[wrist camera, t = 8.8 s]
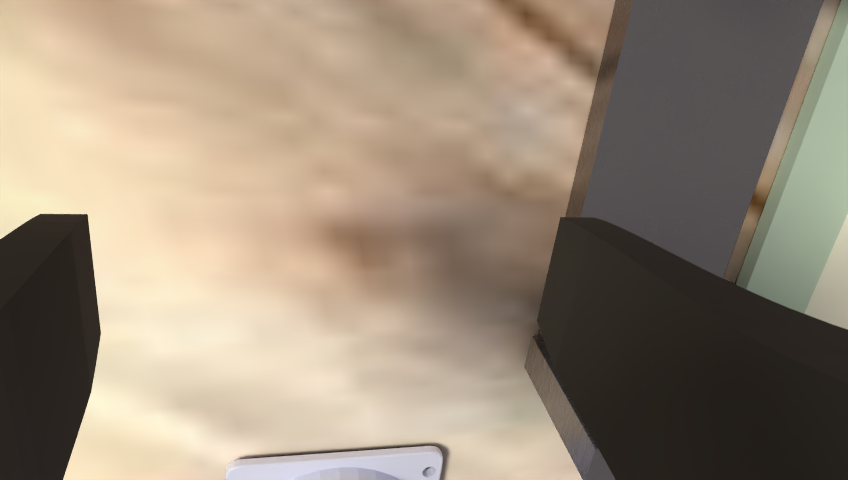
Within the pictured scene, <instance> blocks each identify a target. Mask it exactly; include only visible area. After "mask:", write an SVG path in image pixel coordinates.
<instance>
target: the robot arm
mask: <svg viewBox="0 0 848 480" xmlns="http://www.w3.org/2000/svg"><path fill="white" fill-rule="evenodd" d="M537 321H538V324H539V327H540V330H541V333H542V336H543V339H544V342H545V345H546V348H547V350H548V353H549V355H550V358H551V361H552V363H553V366H554V368H555V371H556V372H557V374H558V376H559V378H560V380H561V382H562V384H563V386H564V388H565V389H566V391H567V393H568V395H569V397H570V399H571V400H572V402H573V404H574V406H575V408H576V410H577V411H578V413H579V415H580V417H581V419H582V420H583V422H584V424H585V426H586V427H587V429H588V431H589V433H590V435H591V436H592V438H593V440H594V442H595V444H596V445H597V447H598V449H599V451H600V453H601V454H602V456H603V458H604V460H605V461H606V463H607V465H608V467H609V469H610V470H611V472H612V474H613V476H614V478H615V480H848V329H845V328H842V327H839V326H836V325H833V324H830V323H827V322H825V321H822V320H819V319H817V318H814V317H812V316H809V315H806V314H804V313H801V312H798V311H796V310H793V309H790V308H788V307H785V306H783V305H781V304H778V303H776V302H773V301H771V300H769V299H766V298H764V297H762V296H760V295H757V294H755V293H753V292H751V291H749V290H746V289H744V288H742V287H740V286H738V285H735V284H733V283H731V282H729V281H727V280H725V279H723V278H721V277H719V276H716V275H714V274H712V273H710V272H708V271H706V270H704V269H702V268H700V267H698V266H696V265H694V264H692V263H690V262H688V261H686V260H684V259H682V258H681V257H679V256H677V255H675V254H673V253H671V252H669V251H667V250H665V249H663V248H661V247H659V246H657V245H655V244H653V243H651V242H649V241H647V240H645V239H643V238H641V237H639V236H637V235H635V234H633V233H631V232H629V231H627V230H625V229H623V228H621V227H618V226H616V225H614V224H611V223H609V222H606V221H604V220H601V219H598V218H592V217H561V218H560V222H559V227H558V231H557V235H556V240H555V244H554V249H553V253H552V257H551V262H550V266H549V270H548V275H547V279H546V284H545V288H544V292H543V297H542V301H541V305H540V310H539V314H538V319H537ZM100 335H101V331H100V323H99V314H98V305H97V296H96V287H95V278H94V269H93V260H92V251H91V242H90V233H89V224H88V215H87V214H40V215H38V216H36V217H34V218H32V219H31V220H29V221H27V222H26V223H24V224H23V225H21V226H20V227H18V228H17V229H15V230H14V231H12V232H11V233H9V234H8V235H6V236H5V237H3V238H2V239H0V480H63V478H64V474H65V471H66V468H67V465H68V462H69V459H70V456H71V453H72V450H73V447H74V444H75V441H76V438H77V435H78V431H79V428H80V425H81V422H82V419H83V416H84V413H85V409H86V406H87V403H88V400H89V397H90V393H91V389H92V383H93V378H94V372H95V366H96V360H97V354H98V347H99V341H100ZM442 464H443V456H442V453H441V450H440V449H439V448H438V447H436V446H421V447H407V448H393V449H379V450H365V451H351V452H336V453H322V454H308V455H294V456H280V457H266V458H252V459H239V460H235V461H233V462H231V463H229V465H228V466H227V468H226V480H440V475H441V470H442ZM427 467H431V468H429V469H425V468H427Z"/></svg>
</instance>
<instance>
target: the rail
mask: <svg viewBox="0 0 848 480" xmlns="http://www.w3.org/2000/svg"><path fill="white" fill-rule="evenodd" d="M804 314H806V315H809V316H812V317H814V318H817V319H819V320H822V321H825V322H827V323H830V324H833V325H836V326H839V327H842V328H845V329H848V214H847V216H846V218H845V221H844V223H843V225H842V227H841V230H840V232H839V234H838V237H837V239H836V241H835V244H834V246H833V248H832V251H831V253H830V255H829V257H828V260H827V262H826V264H825V267H824V269H823V271H822V274H821V276H820V278H819V281H818V283H817V285H816V287H815V290H814V292H813V294H812V297H811V299H810V301H809V304H808V306H807V308H806V310H805V313H804Z"/></svg>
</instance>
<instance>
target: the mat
mask: <svg viewBox="0 0 848 480" xmlns="http://www.w3.org/2000/svg"><path fill="white" fill-rule="evenodd" d="M847 214H848V0H841V2H840V5H839V8H838V10H837V13H836V16H835V18H834V21H833V24H832V26H831V29H830V32H829V34H828V37H827V40H826V43H825V45H824V48H823V51H822V53H821V56H820V59H819V61H818V64H817V67H816V69H815V72H814V75H813V77H812V80H811V83H810V86H809V88H808V91H807V94H806V96H805V99H804V102H803V104H802V107H801V110H800V112H799V115H798V118H797V120H796V123H795V126H794V128H793V131H792V134H791V137H790V139H789V142H788V145H787V147H786V150H785V153H784V155H783V158H782V161H781V163H780V166H779V169H778V171H777V174H776V177H775V180H774V182H773V185H772V188H771V190H770V193H769V196H768V198H767V201H766V204H765V206H764V209H763V212H762V214H761V217H760V220H759V223H758V225H757V228H756V231H755V233H754V236H753V239H752V241H751V244H750V247H749V249H748V252H747V255H746V257H745V260H744V263H743V266H742V268H741V271H740V274H739V276H738V279H737V282H736V284H735V285H738V286H740V287H742V288H744V289H746V290H749V291H751V292H753V293H755V294H757V295H760V296H762V297H764V298H766V299H769V300H771V301H773V302H776V303H778V304H781V305H783V306H785V307H788V308H790V309H793V310H796V311H798V312H801V313H805V310H806V308H807V306H808V304H809V301H810V299H811V297H812V294H813V292H814V290H815V287H816V285H817V283H818V281H819V278H820V276H821V274H822V271H823V269H824V267H825V264H826V262H827V260H828V257H829V255H830V253H831V251H832V248H833V246H834V244H835V241H836V239H837V237H838V234H839V232H840V230H841V227H842V225H843V223H844V221H845V218H846V216H847Z"/></svg>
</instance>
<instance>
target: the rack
mask: <svg viewBox="0 0 848 480" xmlns="http://www.w3.org/2000/svg"><path fill="white" fill-rule="evenodd" d="M822 2H823V0H616V2H615V6H614V10H613V15H612V19H611V23H610V28H609V32H608V36H607V40H606V45H605V49H604V53H603V58H602V62H601V66H600V71H599V75H598V79H597V84H596V88H595V92H594V97H593V101H592V105H591V109H590V114H589V118H588V122H587V127H586V131H585V135H584V140H583V144H582V148H581V153H580V157H579V161H578V166H577V170H576V174H575V178H574V183H573V187H572V191H571V196H570V200H569V204H568V209H567V213H566V217H592V218H598V219H601V220H604V221H606V222H609V223H611V224H614V225H616V226H618V227H621V228H623V229H625V230H627V231H629V232H631V233H633V234H635V235H637V236H639V237H641V238H643V239H645V240H647V241H649V242H651V243H653V244H655V245H657V246H659V247H661V248H663V249H665V250H667V251H669V252H671V253H673V254H675V255H677V256H679V257H681V258H682V259H684V260H686V261H688V262H690V263H692V264H694V265H696V266H698V267H700V268H702V269H704V270H706V271H708V272H710V273H712V274H714V275H716V276H719V277H721V278H723V276H724V274H725V271H726V268H727V265H728V263H729V260H730V257H731V254H732V252H733V249H734V246H735V243H736V240H737V238H738V235H739V232H740V229H741V227H742V224H743V221H744V218H745V216H746V213H747V210H748V207H749V204H750V202H751V199H752V196H753V193H754V191H755V188H756V185H757V182H758V179H759V177H760V174H761V171H762V168H763V166H764V163H765V160H766V157H767V155H768V152H769V149H770V146H771V143H772V141H773V138H774V135H775V132H776V130H777V127H778V124H779V121H780V119H781V116H782V113H783V110H784V107H785V105H786V102H787V99H788V96H789V94H790V91H791V88H792V85H793V83H794V80H795V77H796V74H797V71H798V69H799V66H800V63H801V60H802V58H803V55H804V52H805V49H806V47H807V44H808V41H809V38H810V35H811V33H812V30H813V27H814V24H815V22H816V19H817V16H818V13H819V11H820V8H821V5H822ZM525 369H526V371H527V373H528V375H529V377H530V379H531V380H532V382H533V384H534V386H535V388H536V390H537V392H538V394H539V396H540V398H541V400H542V402H543V404H544V406H545V408H546V409H547V411H548V413H549V415H550V417H551V419H552V421H553V423H554V425H555V427H556V429H557V431H558V433H559V435H560V436H561V438H562V440H563V442H564V444H565V446H566V448H567V450H568V452H569V454H570V456H571V458H572V460H573V462H574V464H575V465H576V467H577V469H578V471H579V473H580V475H581V477H582V479H583V480H615V478H614V476H613V474H612V472H611V470H610V469H609V467H608V465H607V463H606V461H605V460H604V458H603V456H602V454H601V453H600V451H599V449H598V447H597V445H596V444H595V442H594V440H593V438H592V436H591V435H590V433H589V431H588V429H587V427H586V426H585V424H584V422H583V420H582V419H581V417H580V415H579V413H578V411H577V410H576V408H575V406H574V404H573V402H572V400H571V399H570V397H569V395H568V393H567V391H566V389H565V388H564V386H563V384H562V382H561V380H560V378H559V376H558V374H557V372H556V371H555V368H554V366H553V363H552V361H551V358H550V355H549V353H548V350H547V348H546V345H545V342H544V339H543V336H542V333H541V330H540V329H539V334H538V335H537V336H532V337H531V341H530V346H529V350H528V354H527V359H526V363H525Z"/></svg>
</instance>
